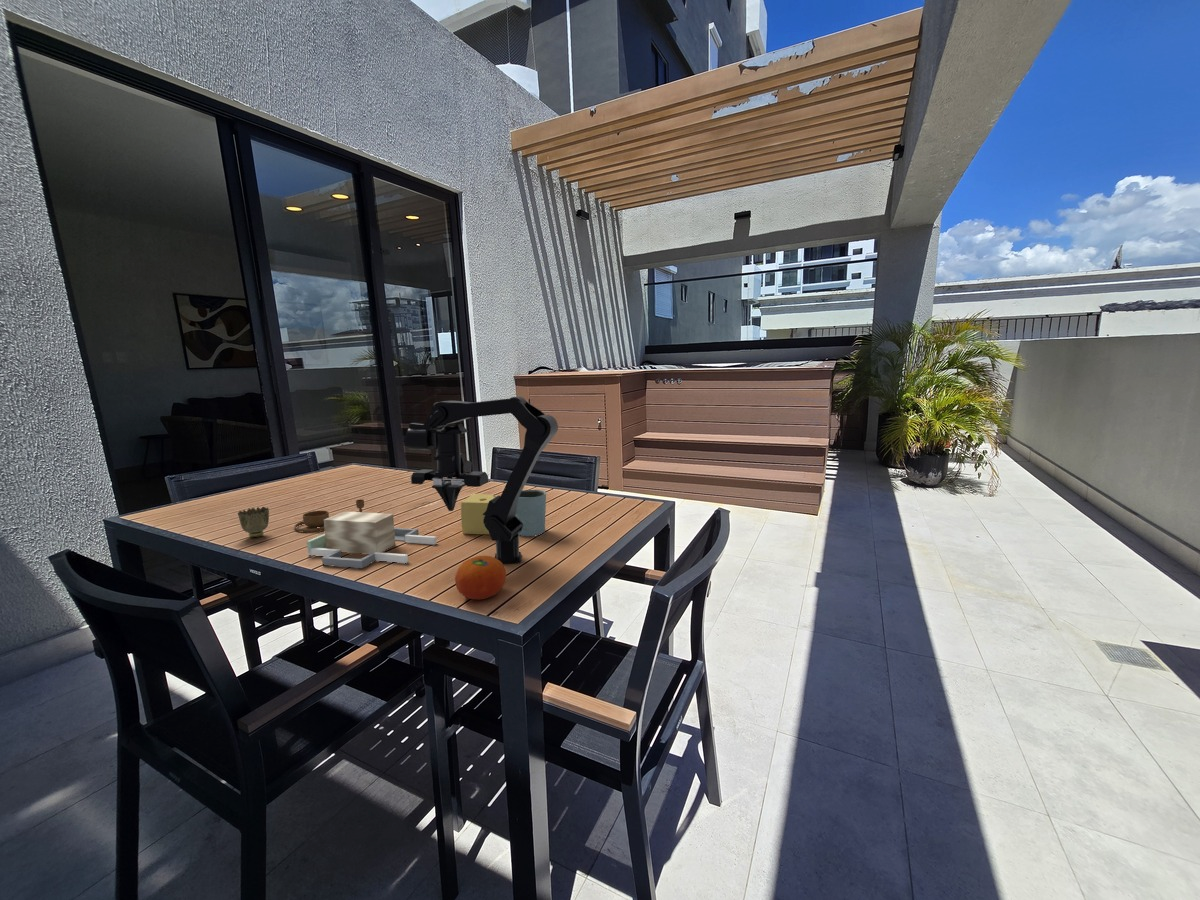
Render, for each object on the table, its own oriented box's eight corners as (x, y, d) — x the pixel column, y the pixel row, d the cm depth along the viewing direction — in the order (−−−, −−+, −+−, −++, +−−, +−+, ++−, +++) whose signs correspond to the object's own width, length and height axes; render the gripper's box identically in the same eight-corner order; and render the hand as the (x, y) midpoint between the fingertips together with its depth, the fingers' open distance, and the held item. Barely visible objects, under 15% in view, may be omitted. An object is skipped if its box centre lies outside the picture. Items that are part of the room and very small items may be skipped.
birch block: (395, 545, 135) (393, 513, 134) (377, 555, 128) (375, 522, 126) (347, 542, 138) (344, 511, 137) (326, 552, 130) (323, 519, 129)
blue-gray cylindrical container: (532, 540, 139) (531, 499, 137) (505, 534, 144) (504, 494, 143) (553, 530, 148) (553, 491, 146) (527, 525, 153) (527, 487, 151)
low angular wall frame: (445, 537, 141) (444, 524, 141) (393, 571, 117) (392, 555, 116) (359, 531, 146) (358, 519, 146) (292, 563, 122) (291, 547, 122)
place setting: (296, 523, 157) (295, 505, 156) (365, 515, 166) (364, 498, 166) (292, 539, 142) (290, 519, 141) (368, 529, 151) (366, 511, 150)
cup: (239, 536, 143) (236, 509, 142) (269, 530, 148) (266, 505, 146) (242, 542, 137) (239, 515, 136) (273, 536, 142) (270, 510, 141)
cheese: (505, 524, 154) (504, 493, 152) (494, 535, 143) (493, 502, 141) (473, 523, 155) (471, 493, 153) (460, 534, 144) (458, 501, 142)
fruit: (467, 583, 110) (466, 549, 109) (512, 585, 109) (511, 551, 108) (448, 605, 100) (446, 568, 98) (497, 608, 98) (496, 570, 97)
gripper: (495, 447, 129) (497, 504, 132) (431, 445, 133) (434, 501, 135) (477, 453, 118) (480, 516, 121) (407, 451, 122) (411, 512, 124)
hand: (451, 510), depth 126 cm, fingers closed
